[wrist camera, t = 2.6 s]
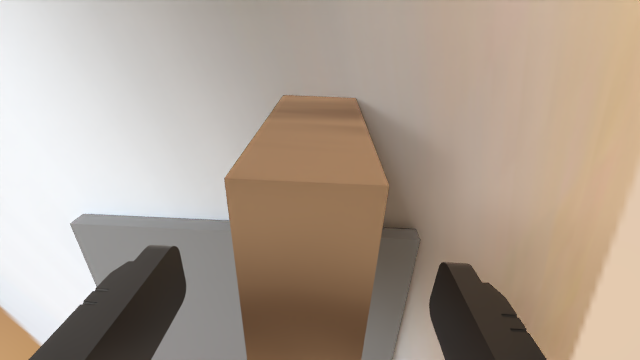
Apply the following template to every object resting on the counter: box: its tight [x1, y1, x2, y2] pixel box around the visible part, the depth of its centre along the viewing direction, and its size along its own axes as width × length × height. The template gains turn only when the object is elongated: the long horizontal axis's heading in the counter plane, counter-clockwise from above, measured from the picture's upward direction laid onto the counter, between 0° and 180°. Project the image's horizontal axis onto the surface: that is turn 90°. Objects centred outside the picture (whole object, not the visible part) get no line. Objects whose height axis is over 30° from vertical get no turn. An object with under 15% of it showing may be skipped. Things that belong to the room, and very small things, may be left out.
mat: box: [70, 214, 420, 360], centre depth 20 cm, size 14×20×1 cm
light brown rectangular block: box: [224, 95, 389, 360], centre depth 12 cm, size 7×4×9 cm, turn 178°
